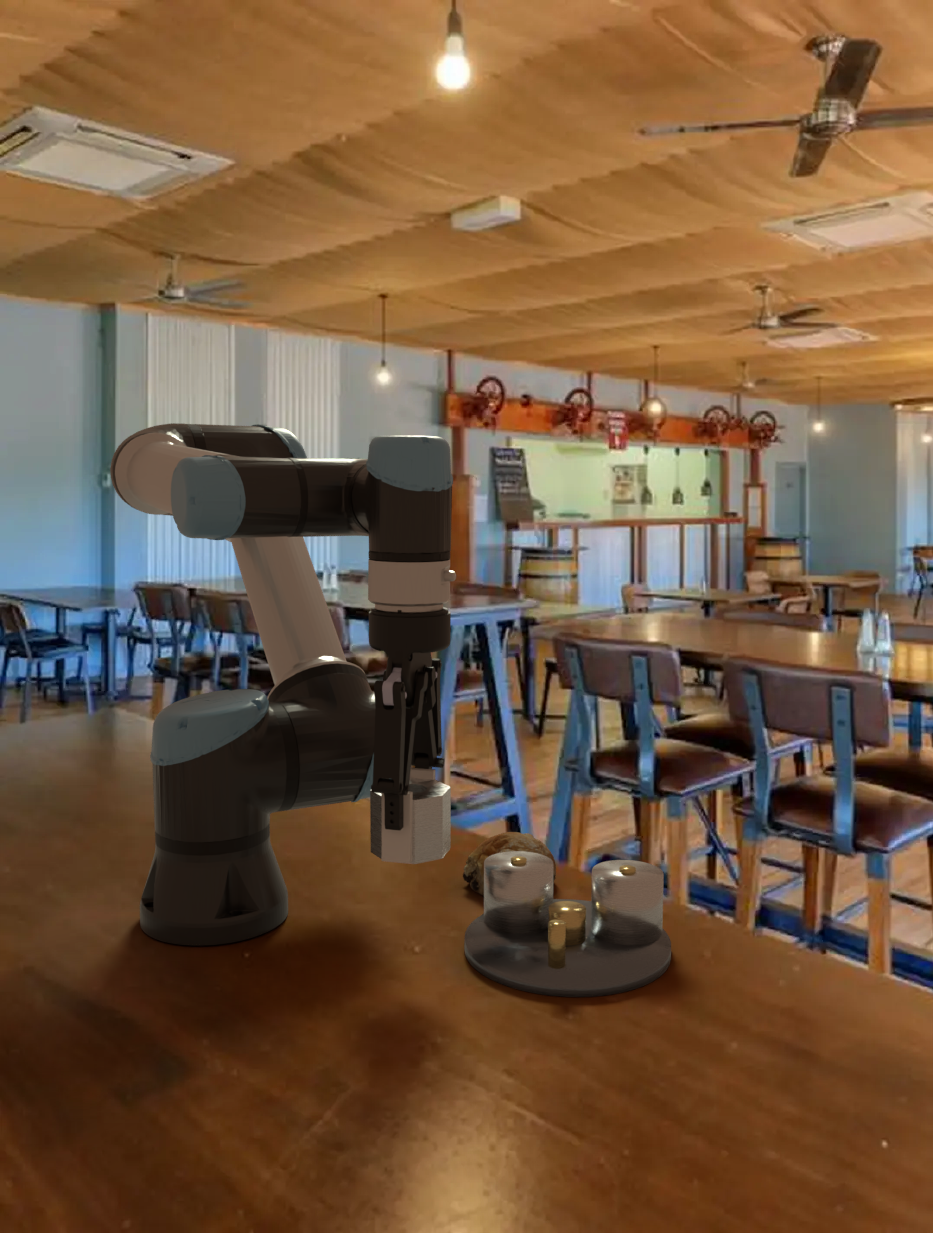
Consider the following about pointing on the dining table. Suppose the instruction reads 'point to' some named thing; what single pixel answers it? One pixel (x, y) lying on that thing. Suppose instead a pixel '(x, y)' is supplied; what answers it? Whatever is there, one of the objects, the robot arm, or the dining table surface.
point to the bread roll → (499, 845)
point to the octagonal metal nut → (420, 820)
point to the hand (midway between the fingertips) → (409, 846)
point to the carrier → (569, 928)
